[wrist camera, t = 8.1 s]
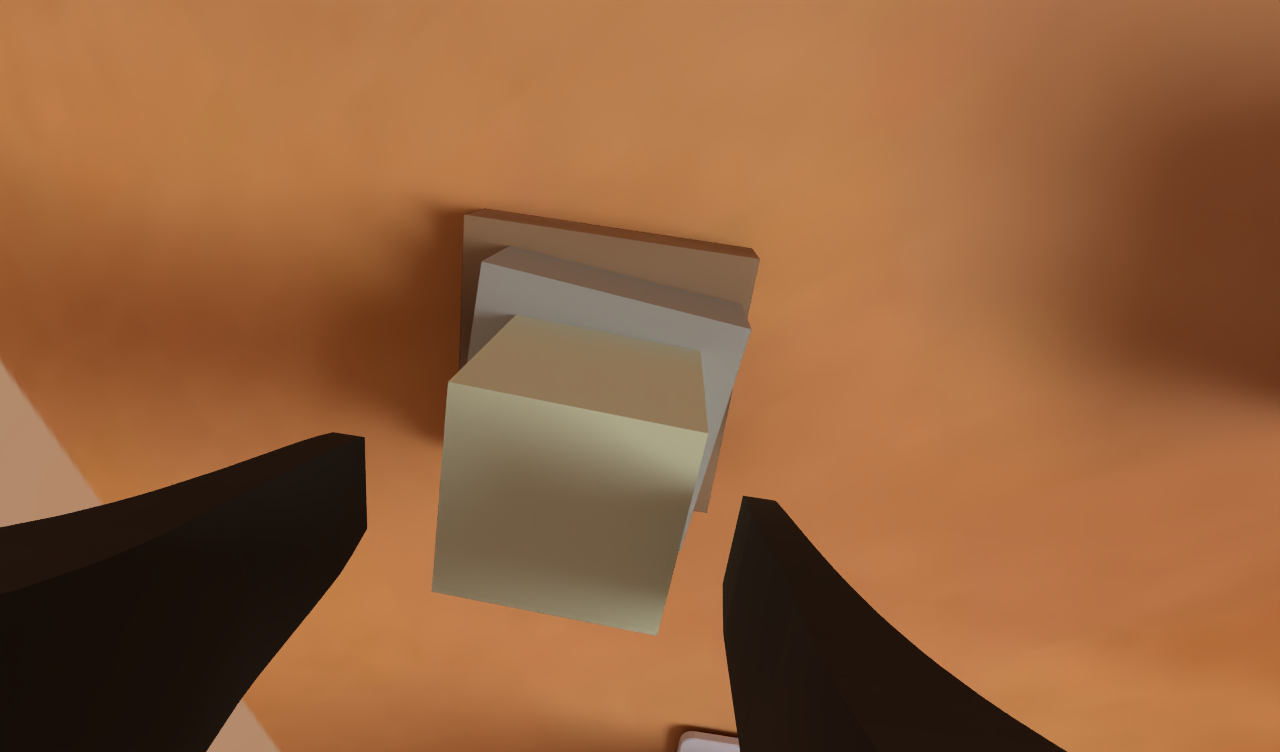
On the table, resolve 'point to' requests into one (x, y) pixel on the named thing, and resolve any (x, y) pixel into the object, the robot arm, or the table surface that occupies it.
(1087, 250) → the table surface
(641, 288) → the middle block
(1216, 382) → the table surface
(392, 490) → the table surface
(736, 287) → the base block
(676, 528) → the sage cube
